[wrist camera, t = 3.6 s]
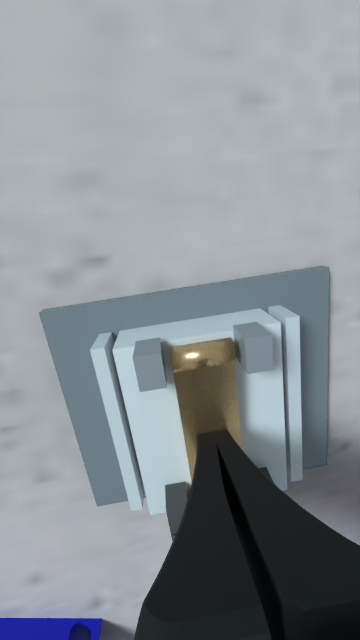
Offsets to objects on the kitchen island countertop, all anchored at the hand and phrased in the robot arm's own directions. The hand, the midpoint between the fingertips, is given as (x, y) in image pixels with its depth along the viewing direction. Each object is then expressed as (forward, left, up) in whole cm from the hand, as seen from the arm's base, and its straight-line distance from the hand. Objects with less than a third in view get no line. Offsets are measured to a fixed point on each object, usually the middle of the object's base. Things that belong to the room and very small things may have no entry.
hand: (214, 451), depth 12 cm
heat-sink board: (0, 0, -4) cm, 4 cm away
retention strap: (0, -1, -1) cm, 1 cm away
